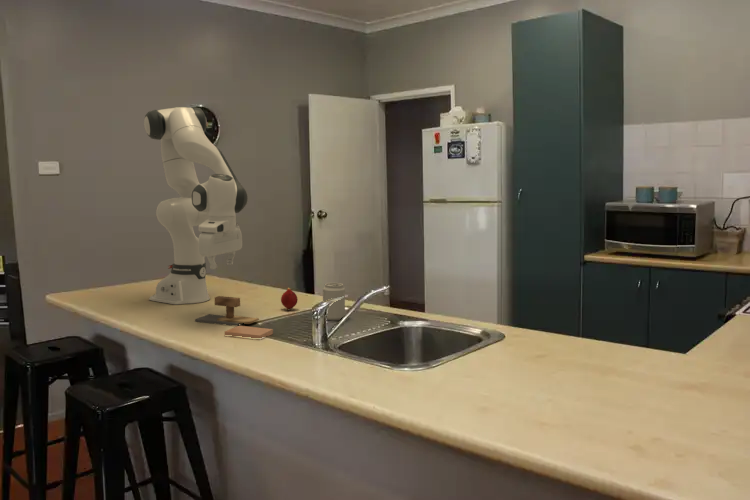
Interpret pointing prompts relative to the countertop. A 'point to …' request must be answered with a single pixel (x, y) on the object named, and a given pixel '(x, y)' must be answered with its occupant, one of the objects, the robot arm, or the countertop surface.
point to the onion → (289, 299)
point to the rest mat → (214, 320)
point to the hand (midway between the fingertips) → (221, 266)
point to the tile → (249, 332)
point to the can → (337, 307)
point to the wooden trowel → (232, 310)
